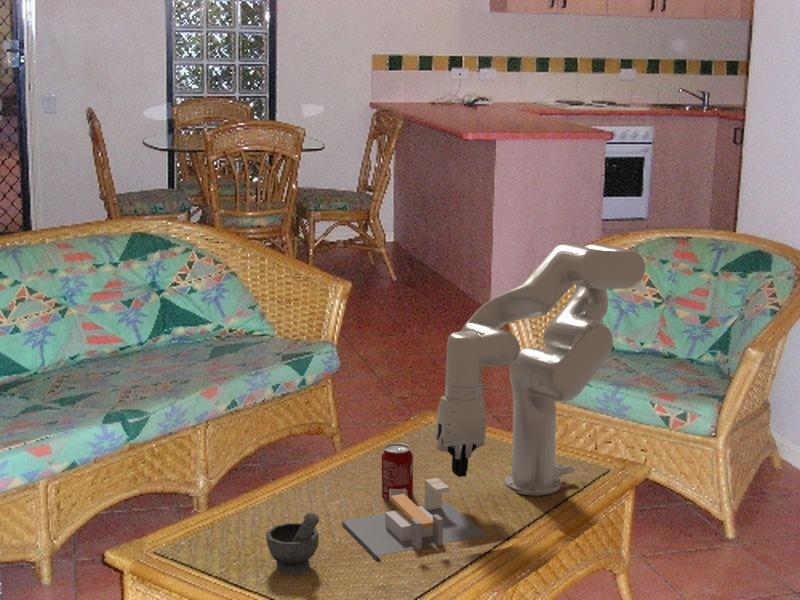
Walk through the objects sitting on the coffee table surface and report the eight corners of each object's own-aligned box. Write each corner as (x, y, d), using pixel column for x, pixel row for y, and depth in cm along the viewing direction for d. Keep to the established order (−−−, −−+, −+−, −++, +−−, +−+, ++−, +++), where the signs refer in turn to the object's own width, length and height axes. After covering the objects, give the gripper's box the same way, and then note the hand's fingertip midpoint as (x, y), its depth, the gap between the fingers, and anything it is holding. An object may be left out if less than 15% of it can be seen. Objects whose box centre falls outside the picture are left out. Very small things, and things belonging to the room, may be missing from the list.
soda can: (409, 507, 247) (409, 454, 244) (378, 504, 248) (378, 452, 245) (415, 495, 253) (415, 443, 250) (385, 493, 254) (385, 441, 252)
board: (446, 507, 247) (447, 478, 245) (488, 540, 230) (489, 510, 229) (342, 526, 237) (341, 496, 235) (378, 562, 220) (377, 531, 219)
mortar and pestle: (256, 568, 218) (255, 508, 216) (291, 551, 225) (289, 493, 223) (300, 585, 211) (299, 524, 209) (334, 567, 219) (333, 508, 216)
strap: (403, 498, 238) (403, 493, 238) (433, 526, 226) (433, 522, 226) (390, 500, 237) (390, 495, 237) (419, 529, 225) (419, 524, 224)
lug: (437, 504, 245) (437, 477, 244) (449, 513, 240) (449, 486, 239) (424, 506, 244) (424, 479, 242) (436, 516, 239) (436, 489, 237)
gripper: (486, 383, 247) (482, 465, 251) (423, 389, 241) (419, 473, 244) (503, 392, 240) (499, 476, 244) (439, 399, 234) (435, 485, 238)
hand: (459, 474), depth 244 cm, fingers closed
